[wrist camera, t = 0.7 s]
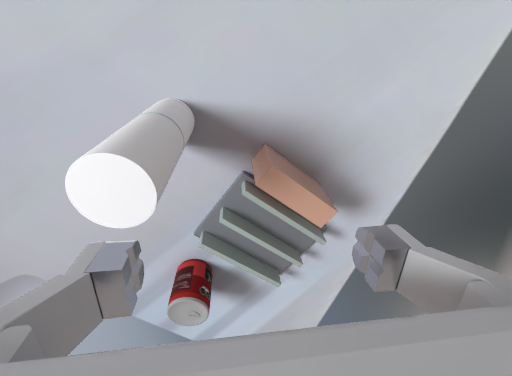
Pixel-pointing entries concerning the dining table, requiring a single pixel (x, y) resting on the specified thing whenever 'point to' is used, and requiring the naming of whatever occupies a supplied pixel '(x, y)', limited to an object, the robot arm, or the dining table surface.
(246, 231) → the slotted rail base
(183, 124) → the cylindrical container
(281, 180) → the terracotta tile
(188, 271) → the canned food
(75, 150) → the dining table surface
